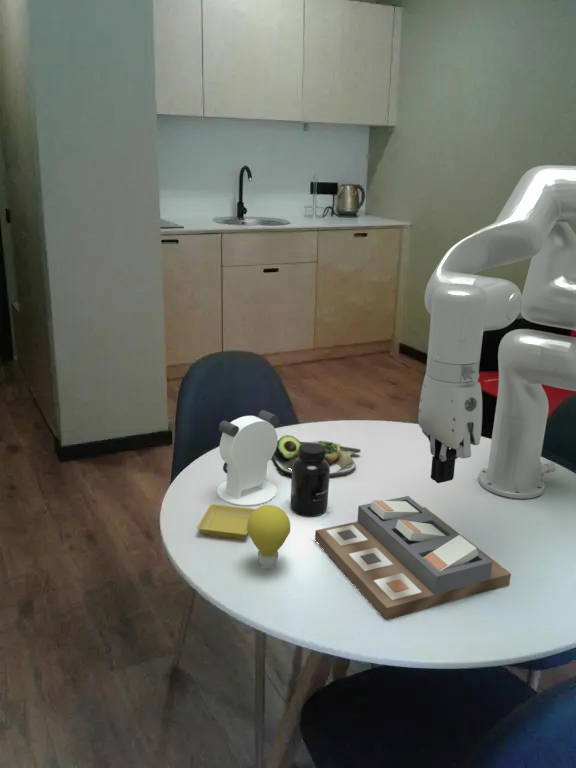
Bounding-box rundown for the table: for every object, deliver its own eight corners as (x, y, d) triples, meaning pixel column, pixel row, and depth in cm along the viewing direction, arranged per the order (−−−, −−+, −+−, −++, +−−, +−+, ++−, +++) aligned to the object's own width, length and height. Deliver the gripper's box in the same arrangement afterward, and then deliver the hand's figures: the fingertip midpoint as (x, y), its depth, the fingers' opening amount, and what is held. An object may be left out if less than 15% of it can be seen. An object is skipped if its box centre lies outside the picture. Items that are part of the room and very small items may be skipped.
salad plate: (348, 442, 153) (349, 424, 152) (375, 477, 136) (377, 456, 135) (265, 448, 149) (265, 428, 147) (282, 484, 132) (283, 463, 131)
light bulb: (257, 581, 101) (258, 522, 98) (239, 558, 106) (240, 502, 103) (296, 570, 104) (299, 513, 101) (277, 549, 109) (279, 493, 106)
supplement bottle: (324, 519, 119) (328, 457, 115) (286, 514, 120) (289, 453, 116) (330, 501, 125) (333, 442, 122) (294, 497, 127) (296, 438, 123)
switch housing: (406, 511, 119) (408, 495, 118) (489, 579, 100) (492, 561, 99) (357, 521, 115) (358, 505, 114) (434, 594, 96) (436, 576, 95)
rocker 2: (428, 531, 110) (431, 523, 109) (443, 544, 106) (446, 535, 106) (395, 527, 106) (398, 518, 106) (409, 540, 103) (413, 531, 103)
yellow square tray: (246, 545, 111) (246, 534, 110) (196, 538, 112) (196, 527, 112) (257, 519, 119) (258, 509, 118) (210, 513, 120) (210, 503, 120)
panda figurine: (253, 472, 136) (254, 403, 131) (291, 493, 128) (294, 419, 123) (205, 489, 128) (204, 416, 123) (242, 512, 120) (243, 435, 116)
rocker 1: (403, 508, 116) (406, 500, 116) (417, 519, 113) (419, 511, 112) (370, 508, 113) (372, 499, 113) (383, 519, 110) (385, 510, 109)
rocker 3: (461, 541, 103) (459, 533, 102) (478, 555, 99) (476, 547, 99) (424, 564, 101) (422, 557, 100) (440, 579, 97) (438, 571, 97)
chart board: (424, 517, 121) (425, 505, 120) (509, 585, 102) (511, 571, 101) (314, 540, 112) (315, 528, 111) (385, 620, 93) (387, 606, 92)
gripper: (507, 381, 94) (492, 496, 100) (442, 351, 107) (433, 455, 113) (464, 388, 91) (451, 507, 97) (402, 357, 104) (395, 464, 110)
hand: (441, 479), depth 105 cm, fingers closed
